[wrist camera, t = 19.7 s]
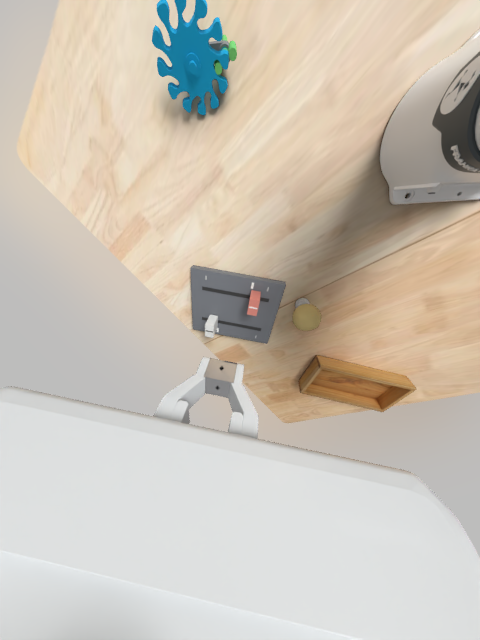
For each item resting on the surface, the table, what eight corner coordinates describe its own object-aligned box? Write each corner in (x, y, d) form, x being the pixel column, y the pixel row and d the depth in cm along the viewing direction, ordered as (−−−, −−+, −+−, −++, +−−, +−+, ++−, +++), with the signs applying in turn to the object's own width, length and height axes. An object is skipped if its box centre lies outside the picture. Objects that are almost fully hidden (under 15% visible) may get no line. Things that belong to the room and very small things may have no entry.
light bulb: (314, 311, 47) (324, 334, 39) (290, 314, 48) (295, 337, 40) (313, 290, 43) (324, 310, 35) (288, 294, 45) (292, 315, 37)
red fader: (260, 291, 43) (259, 300, 39) (257, 306, 46) (256, 316, 42) (251, 290, 43) (249, 299, 39) (248, 304, 46) (246, 314, 42)
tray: (405, 374, 56) (418, 390, 51) (375, 398, 65) (383, 413, 60) (316, 352, 56) (320, 366, 51) (297, 379, 65) (300, 392, 60)
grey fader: (218, 315, 49) (213, 326, 45) (217, 327, 52) (213, 338, 48) (210, 314, 49) (205, 324, 45) (209, 326, 52) (204, 336, 48)
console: (285, 282, 43) (285, 285, 41) (267, 339, 55) (267, 343, 53) (193, 265, 44) (190, 267, 42) (195, 325, 56) (192, 329, 54)
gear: (172, 121, 28) (133, -2, 18) (173, 94, 29) (136, -34, 20) (238, 114, 28) (234, -15, 18) (237, 88, 29) (231, -47, 19)
